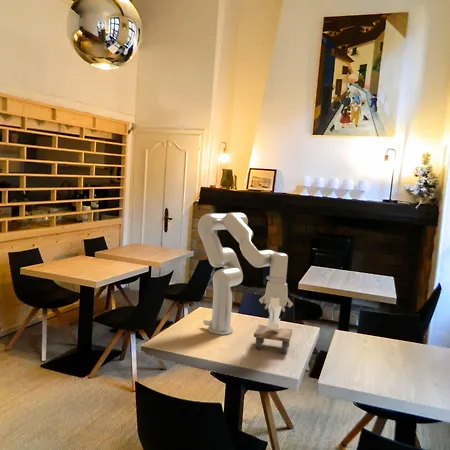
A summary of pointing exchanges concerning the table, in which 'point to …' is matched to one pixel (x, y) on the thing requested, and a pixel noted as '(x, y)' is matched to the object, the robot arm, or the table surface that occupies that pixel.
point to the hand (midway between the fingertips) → (274, 317)
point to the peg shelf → (272, 336)
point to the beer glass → (274, 314)
